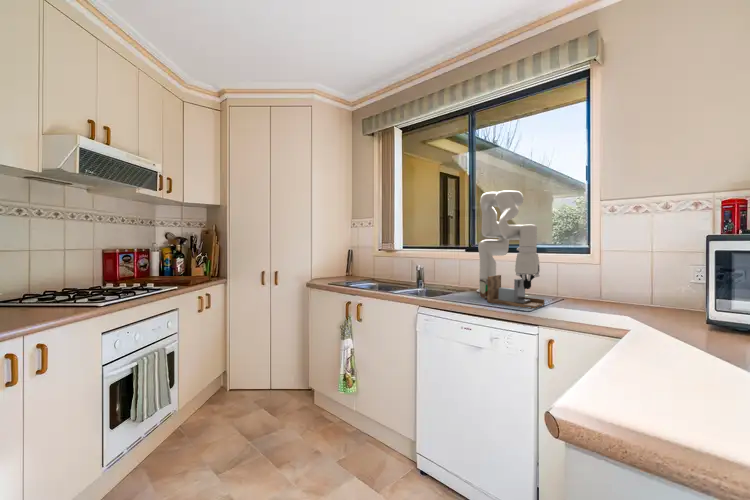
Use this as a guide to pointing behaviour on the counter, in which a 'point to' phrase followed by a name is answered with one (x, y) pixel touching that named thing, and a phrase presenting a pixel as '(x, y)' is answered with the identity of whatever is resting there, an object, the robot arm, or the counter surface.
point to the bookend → (519, 291)
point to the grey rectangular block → (506, 294)
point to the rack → (493, 297)
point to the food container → (483, 288)
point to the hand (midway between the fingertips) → (527, 288)
